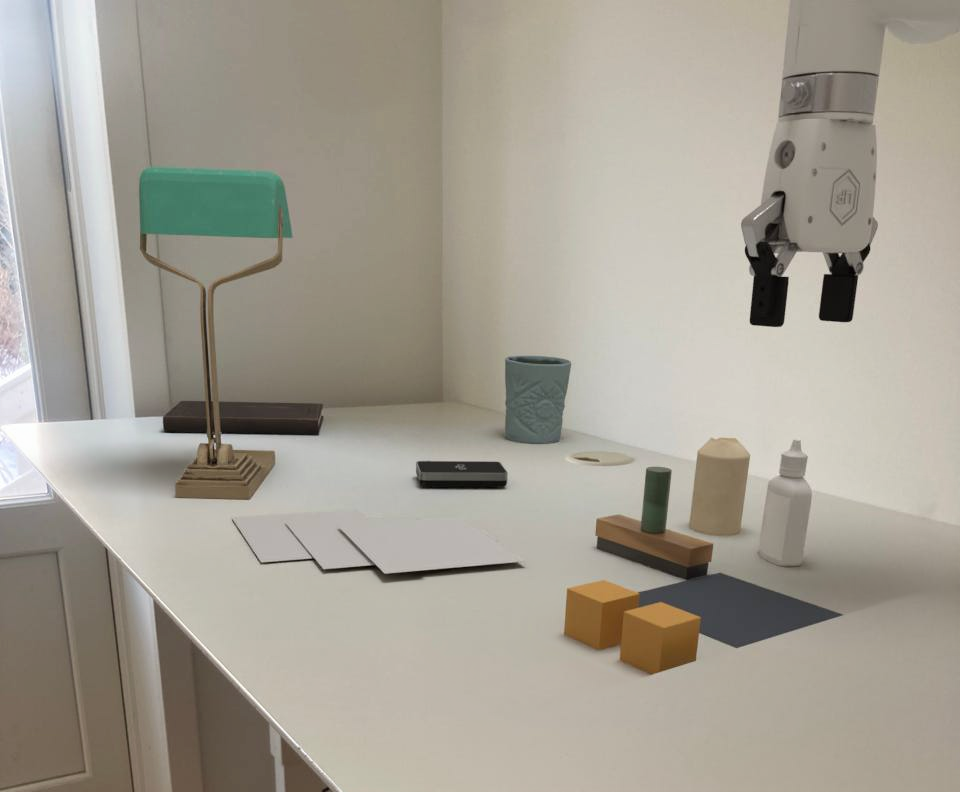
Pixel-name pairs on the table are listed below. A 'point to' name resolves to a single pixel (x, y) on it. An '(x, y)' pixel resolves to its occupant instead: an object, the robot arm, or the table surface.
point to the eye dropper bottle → (786, 511)
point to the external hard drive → (461, 474)
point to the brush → (654, 534)
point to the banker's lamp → (214, 212)
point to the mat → (737, 608)
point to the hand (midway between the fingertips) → (801, 323)
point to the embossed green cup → (535, 398)
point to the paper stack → (372, 541)
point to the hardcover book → (246, 417)
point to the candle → (719, 487)
